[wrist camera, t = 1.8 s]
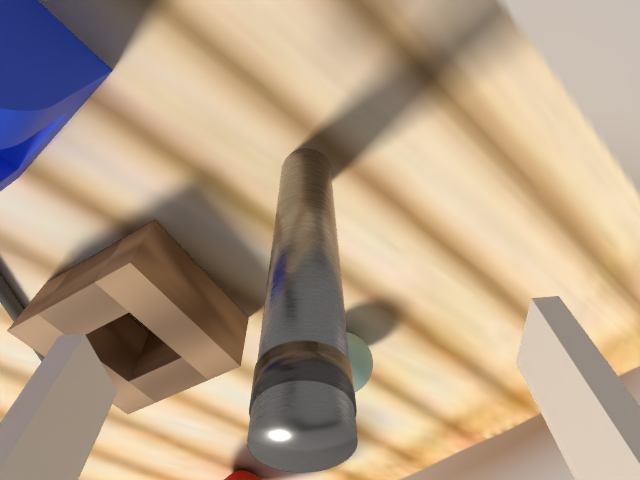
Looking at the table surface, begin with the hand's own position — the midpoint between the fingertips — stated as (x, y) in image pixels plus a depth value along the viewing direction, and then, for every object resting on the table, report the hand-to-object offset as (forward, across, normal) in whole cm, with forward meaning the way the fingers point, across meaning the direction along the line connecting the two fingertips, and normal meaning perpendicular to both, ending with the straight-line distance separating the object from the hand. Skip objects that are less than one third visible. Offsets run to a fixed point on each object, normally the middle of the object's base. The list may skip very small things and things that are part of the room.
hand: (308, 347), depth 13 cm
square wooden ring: (+12, -11, -8) cm, 18 cm away
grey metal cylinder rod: (+12, 0, 0) cm, 12 cm away
